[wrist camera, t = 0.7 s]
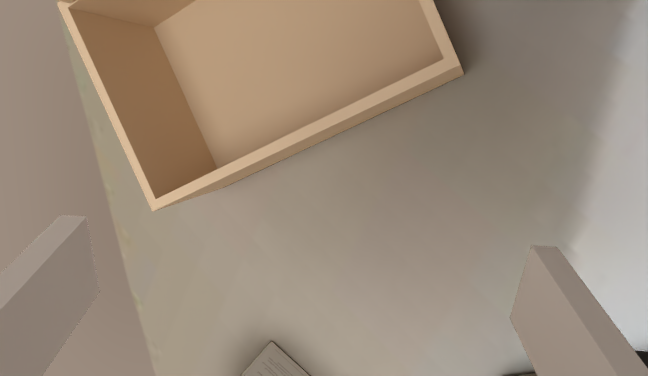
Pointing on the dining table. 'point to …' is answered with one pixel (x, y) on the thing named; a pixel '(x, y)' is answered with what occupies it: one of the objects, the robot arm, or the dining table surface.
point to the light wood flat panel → (67, 0)
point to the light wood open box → (249, 78)
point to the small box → (273, 364)
